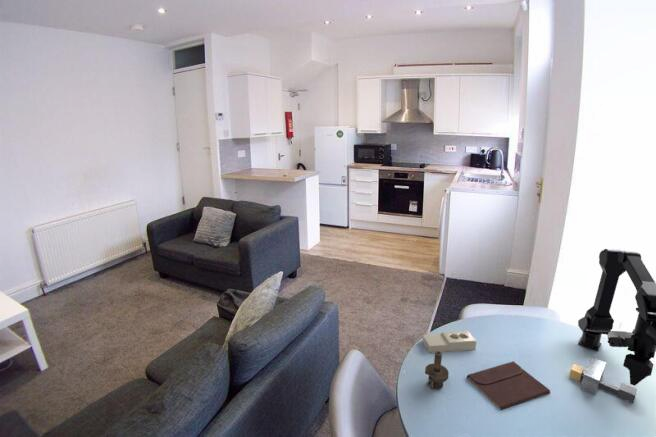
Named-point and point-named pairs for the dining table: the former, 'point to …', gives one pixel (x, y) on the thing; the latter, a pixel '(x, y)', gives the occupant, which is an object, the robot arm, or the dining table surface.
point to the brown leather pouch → (508, 385)
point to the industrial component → (436, 372)
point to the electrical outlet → (449, 341)
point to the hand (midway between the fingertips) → (634, 377)
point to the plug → (607, 385)
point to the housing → (593, 375)
